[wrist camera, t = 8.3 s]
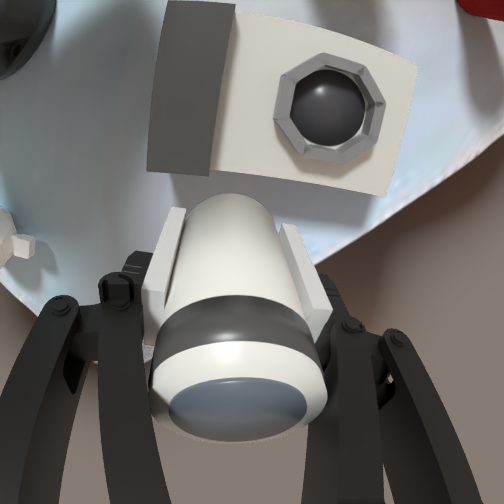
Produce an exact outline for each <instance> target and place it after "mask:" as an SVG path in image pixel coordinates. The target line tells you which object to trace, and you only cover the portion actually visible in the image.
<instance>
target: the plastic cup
mask: <svg viewBox="0 0 504 504" xmlns="http://www.w3.org/2000/svg"><path fill="white" fill-rule="evenodd" d="M457 1H458V3H459V4H460V6H461V7H462V8H463V9H464V10H465V11H466V12H467V13H469V14H471V15H474V16H479V17H485V18H488V19H493V20H499V21H504V0H457Z"/></svg>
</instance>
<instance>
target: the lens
mask: <svg viewBox="0 0 504 504" xmlns="http://www.w3.org/2000/svg"><path fill="white" fill-rule="evenodd" d="M148 388H149V392H148V398H149V405H150V411H151V414H152V416H153V417H154V418H155V419H156V420H157V421H158V422H159V423H160V424H161V425H163V426H164V427H166V428H167V429H169V430H171V431H173V432H175V433H177V434H180V435H182V436H185V437H188V438H191V439H195V440H199V441H205V442H211V443H221V444H244V443H254V442H260V441H266V440H270V439H274V438H277V437H281V436H284V435H287V434H289V433H292V432H294V431H296V430H298V429H300V428H302V427H304V426H305V425H307V424H308V423H310V422H311V421H312V420H314V419H315V418H316V417H317V416H318V415H319V414H320V413H321V411H322V410H323V409H324V407H325V405H326V402H327V390H326V387H325V383H324V373H323V370H322V366H321V363H320V360H319V356H318V353H317V350H316V347H315V343H314V340H313V337H312V334H311V331H310V328H309V326H308V325H307V323H306V319H305V316H304V313H303V310H302V307H301V303H300V300H299V297H298V294H297V291H296V287H295V284H294V281H293V278H292V275H291V272H290V269H289V266H288V263H287V260H286V256H285V253H284V250H283V247H282V244H281V241H280V238H279V235H278V232H277V229H276V226H275V223H274V221H273V218H272V216H271V215H270V213H269V212H268V210H267V209H266V208H265V207H264V206H263V205H262V204H260V203H259V202H258V201H256V200H254V199H252V198H250V197H248V196H245V195H241V194H234V193H225V194H218V195H215V196H212V197H209V198H207V199H205V200H203V201H202V202H200V203H199V204H198V205H196V206H195V207H194V208H193V209H192V211H191V212H190V213H189V215H188V216H187V218H186V220H185V224H184V228H183V231H182V235H181V239H180V243H179V247H178V251H177V255H176V259H175V263H174V268H173V272H172V276H171V280H170V285H169V289H168V294H167V298H166V303H165V308H164V312H163V315H162V320H161V325H160V330H159V331H158V334H157V337H156V342H155V347H154V352H153V358H152V363H151V369H150V375H149V380H148Z"/></svg>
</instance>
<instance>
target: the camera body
mask: <svg viewBox="0 0 504 504" xmlns="http://www.w3.org/2000/svg"><path fill="white" fill-rule="evenodd" d="M235 6H236V4H229V3H218V2H205V1H178V0H168V2H167V7H166V12H165V16H164V21H163V27H162V32H161V37H160V43H159V49H158V56H157V62H156V69H155V76H154V84H153V93H152V102H151V112H150V123H149V135H148V151H147V171H148V172H163V173H176V174H188V175H199V176H209V170H220V171H229V172H237V173H246V174H254V175H261V176H268V177H275V178H282V179H289V180H295V181H302V182H308V183H314V184H320V185H325V186H331V187H336V188H342V189H347V190H352V191H357V192H362V193H367V194H372V195H376V196H381V197H385V196H386V193H387V190H388V187H389V184H390V181H391V177H392V174H393V171H394V167H395V164H396V160H397V157H398V153H399V150H400V146H401V142H402V139H403V135H404V131H405V127H406V123H407V119H408V115H409V110H410V106H411V102H412V97H413V92H414V87H415V82H416V77H417V72H418V66H419V65H417V64H415V63H413V62H411V61H408V60H406V59H404V58H402V57H400V56H398V55H395V54H393V53H391V52H388V51H386V50H384V49H381V48H379V47H376V46H374V45H371V44H369V43H366V42H363V41H360V40H358V39H355V38H352V37H349V36H346V35H343V34H340V33H337V32H334V31H330V30H327V29H323V28H320V27H316V26H313V25H309V24H305V23H301V22H297V21H292V20H288V19H283V18H278V17H273V16H268V15H262V14H256V13H249V12H242V11H235Z"/></svg>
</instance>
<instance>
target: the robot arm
mask: <svg viewBox="0 0 504 504" xmlns="http://www.w3.org/2000/svg"><path fill="white" fill-rule="evenodd" d="M55 2H56V0H0V80H2V79H4V78H7V77H9V76H10V75H12V74H13V73H15V72H16V71H17V70H19V69H20V68H21V67H22V66H23V65H24V64H25V63H26V62H27V61H28V60H29V58H30V57H31V56H32V55H33V53H34V52H35V51H36V49H37V48H38V46H39V45H40V43H41V41H42V39H43V38H44V36H45V34H46V32H47V30H48V27H49V25H50V22H51V19H52V16H53V13H54V8H55ZM185 216H186V208H178V207H171V210H170V212H169V215H168V217H167V220H166V222H165V225H164V227H163V230H162V232H161V235H160V238H159V240H158V243H157V246H156V248H155V251H154V253H148V252H141V251H135V252H134V253H132V254H131V255H130V256H128V258H127V260H126V262H125V265H124V267H123V269H122V272H113V273H109V274H107V275H105V276H103V277H102V278H101V279H100V281H99V283H98V288H99V295H100V302H101V303H99V304H95V305H86V306H79V305H78V302H77V300H76V299H74V298H73V297H71V296H68V295H60V296H55V297H53V298H52V299H50V300H49V301H48V302H47V303H46V304H45V306H44V307H43V309H42V311H41V313H40V314H39V316H38V318H37V320H36V322H35V324H34V325H33V327H32V329H31V331H30V333H29V335H28V337H27V339H26V341H25V343H24V345H23V347H22V349H21V351H20V353H19V355H18V357H17V359H16V361H15V363H14V366H13V368H12V370H11V372H10V375H9V377H8V379H7V382H6V384H5V386H4V389H3V391H2V394H1V396H0V504H58V503H59V496H60V488H61V482H62V475H63V470H64V464H65V459H66V454H67V449H68V444H69V440H70V435H71V430H72V426H73V422H74V418H75V414H76V410H77V406H78V403H79V399H80V395H81V392H82V388H83V385H84V381H85V378H86V375H87V371H88V368H89V365H90V362H91V361H98V399H99V419H100V432H101V443H102V452H103V460H104V468H105V475H106V482H107V488H108V493H109V499H110V504H171V500H170V497H169V493H168V490H167V486H166V482H165V478H164V474H163V470H162V466H161V461H160V457H159V452H158V448H157V444H156V438H155V433H154V428H153V422H152V417H151V411H150V405H149V398H148V391H147V384H146V378H145V369H144V360H143V351H142V341H143V338H144V344H146V345H152V346H155V342H156V337H157V334H158V331H159V330H160V325H161V320H162V315H163V312H164V308H165V303H166V298H167V294H168V289H169V285H170V280H171V276H172V272H173V268H174V263H175V259H176V255H177V251H178V247H179V243H180V239H181V235H182V231H183V228H184V224H185ZM279 238H280V241H281V244H282V247H283V250H284V253H285V256H286V260H287V263H288V266H289V269H290V272H291V275H292V278H293V281H294V284H295V287H296V291H297V294H298V297H299V300H300V303H301V307H302V310H303V313H304V316H305V319H306V323H307V325H308V326H309V328H310V331H311V334H312V337H313V340H314V343H315V347H316V350H317V353H318V356H319V360H320V363H321V366H322V370H323V373H324V383H325V387H326V390H327V402H326V405H325V407H324V409H323V410H322V411H321V413H320V414H319V415H318V416H317V417H316V418H315V419H314V420H312V421H311V422H310V423H308V438H307V450H306V451H307V452H306V462H305V473H304V483H303V492H302V501H301V504H385V502H384V487H383V484H384V483H383V464H384V467H385V471H386V475H387V478H388V481H389V485H390V488H391V492H392V496H393V500H394V503H395V504H483V502H482V500H481V497H480V494H479V491H478V488H477V485H476V482H475V480H474V477H473V474H472V471H471V469H470V466H469V464H468V461H467V458H466V456H465V453H464V451H463V448H462V446H461V443H460V441H459V439H458V437H457V434H456V432H455V429H454V427H453V425H452V423H451V420H450V418H449V416H448V414H447V412H446V409H445V407H444V405H443V403H442V401H441V399H440V397H439V395H438V393H437V391H436V389H435V387H434V385H433V383H432V381H431V379H430V377H429V375H428V373H427V371H426V369H425V367H424V365H423V363H422V361H421V359H420V358H419V356H418V354H417V352H416V350H415V348H414V346H413V345H412V343H411V341H410V339H409V338H408V337H407V335H405V334H404V333H403V332H401V331H399V330H397V329H392V328H391V329H387V330H386V331H385V332H384V334H383V335H382V336H379V335H376V334H372V333H369V332H366V329H365V326H364V325H363V324H362V323H361V322H360V321H359V320H358V319H356V318H354V317H351V316H350V315H349V313H348V311H347V308H346V306H345V304H344V302H343V300H342V298H341V297H340V294H339V292H338V291H337V287H336V285H335V283H334V282H333V281H332V280H331V279H330V278H329V277H328V276H327V275H323V274H317V272H316V269H315V267H314V265H313V263H312V260H311V258H310V256H309V254H308V251H307V249H306V247H305V245H304V243H303V240H302V238H301V236H300V234H299V232H298V230H297V227H296V225H291V224H285V223H282V224H281V228H280V231H279ZM390 375H391V376H392V378H393V381H392V383H390V382H389V380H388V377H389V376H390Z"/></svg>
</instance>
